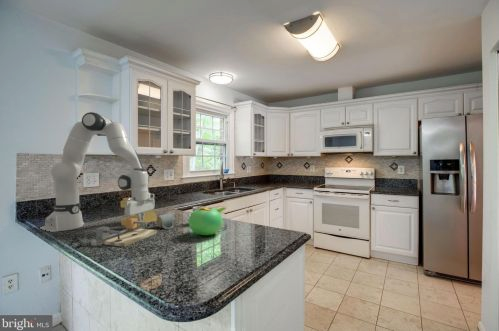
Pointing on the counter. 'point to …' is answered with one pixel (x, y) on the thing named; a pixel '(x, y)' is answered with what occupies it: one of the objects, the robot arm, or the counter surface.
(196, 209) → the mug
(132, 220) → the sliding leg
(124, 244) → the bolt plate
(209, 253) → the counter surface
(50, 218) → the robot arm
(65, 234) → the counter surface
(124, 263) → the counter surface
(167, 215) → the ceramic mug
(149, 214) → the clamp
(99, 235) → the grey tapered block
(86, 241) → the counter surface
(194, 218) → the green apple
